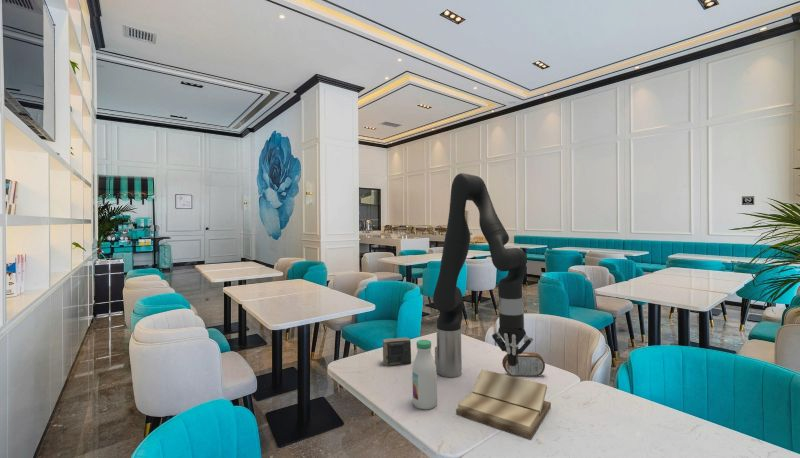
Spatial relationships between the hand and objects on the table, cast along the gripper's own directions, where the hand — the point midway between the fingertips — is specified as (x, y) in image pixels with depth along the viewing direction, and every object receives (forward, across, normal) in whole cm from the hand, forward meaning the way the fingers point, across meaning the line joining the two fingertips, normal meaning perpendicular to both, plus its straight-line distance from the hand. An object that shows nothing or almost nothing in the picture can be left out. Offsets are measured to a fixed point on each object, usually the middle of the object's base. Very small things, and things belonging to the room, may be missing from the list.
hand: (512, 365), depth 116 cm
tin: (+12, +3, -21) cm, 24 cm away
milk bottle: (+11, +23, +17) cm, 31 cm away
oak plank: (+7, +1, +3) cm, 8 cm away
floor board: (+12, +1, +7) cm, 14 cm away
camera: (+11, +50, -4) cm, 51 cm away
